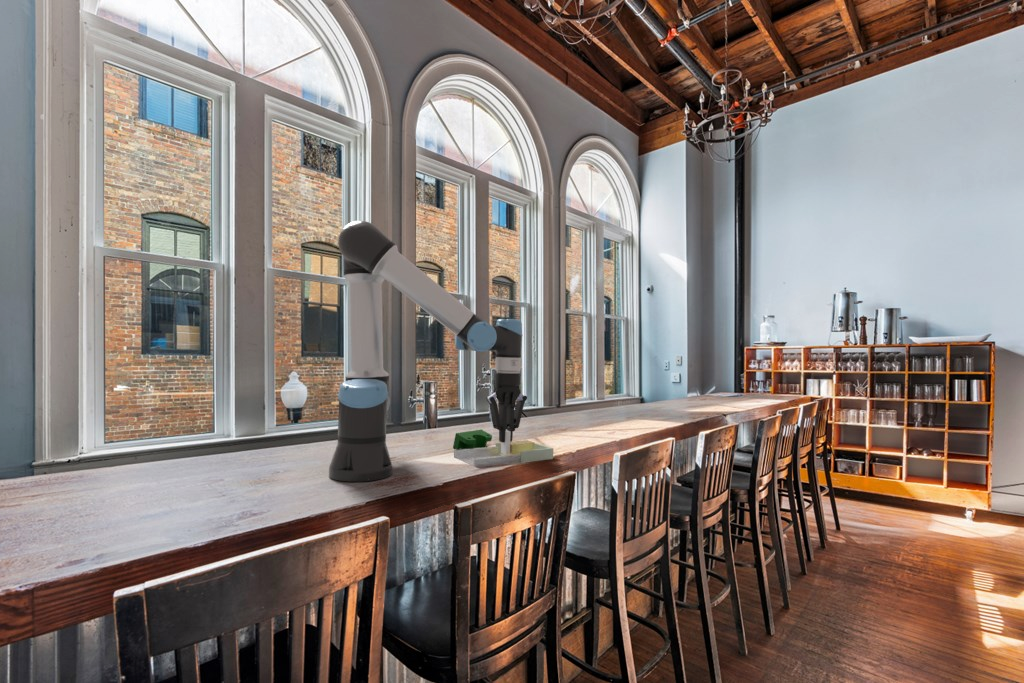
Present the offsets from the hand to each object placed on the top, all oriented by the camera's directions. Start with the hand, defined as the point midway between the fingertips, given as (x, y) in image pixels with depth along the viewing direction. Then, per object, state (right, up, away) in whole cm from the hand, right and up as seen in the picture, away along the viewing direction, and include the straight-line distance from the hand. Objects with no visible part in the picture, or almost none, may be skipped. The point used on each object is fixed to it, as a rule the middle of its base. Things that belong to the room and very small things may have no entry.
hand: (505, 453), depth 147 cm
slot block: (-5, -2, -3) cm, 7 cm away
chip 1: (+2, -1, +2) cm, 3 cm away
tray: (+5, -2, +3) cm, 7 cm away
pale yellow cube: (+6, -2, +4) cm, 7 cm away
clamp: (-10, -2, +12) cm, 16 cm away
